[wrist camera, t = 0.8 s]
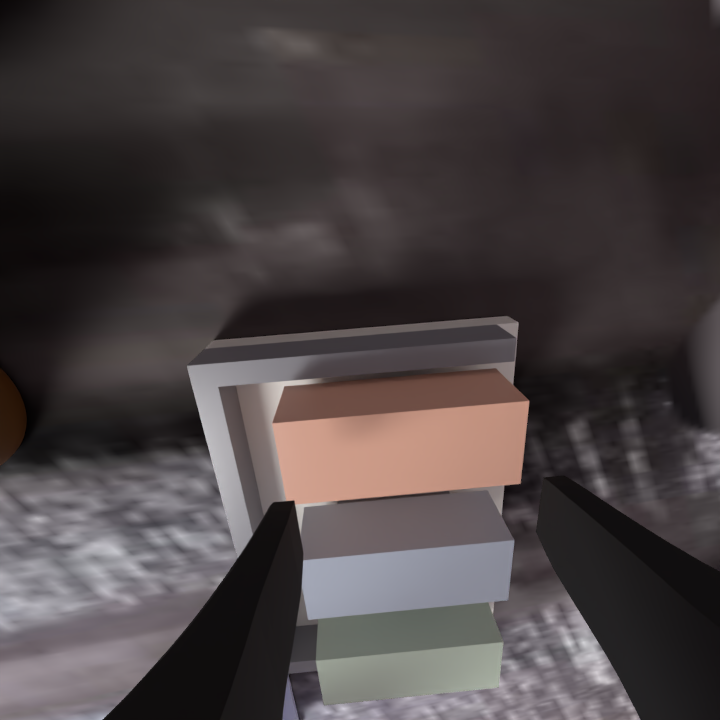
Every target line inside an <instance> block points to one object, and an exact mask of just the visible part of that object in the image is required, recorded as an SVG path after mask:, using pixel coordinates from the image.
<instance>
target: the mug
mask: <svg viewBox="0 0 720 720" xmlns="http://www.w3.org/2000/svg"><path fill="white" fill-rule="evenodd" d="M26 424H27V416H26V409H25V406H24V402H23V400H22V397H21V395H20V393H19V391H18V390H17V388H16V386H15V385H14V383H13V382H12V380H11V379H10V378H9V377H8V375H7V374H6V373H5V372H4V371H3V370H2V369H1V368H0V466H1V465H2V464H3V463H4V462H6V461H7V460H8V459H9V458H10V457H11V456H12V455H13V454H14V453H15V451H16V450H17V449H18V447H19V446H20V444H21V442H22V440H23V438H24V434H25V430H26Z"/></svg>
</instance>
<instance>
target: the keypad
mask: <svg viewBox="0 0 720 720" xmlns="http://www.w3.org/2000/svg"><path fill="white" fill-rule="evenodd" d="M518 325H519V322H517V321H515V320H514V319H512V318H510V317H508V316H500V317H488V318H476V319H464V320H452V321H440V322H428V323H416V324H404V325H392V326H380V327H368V328H356V329H344V330H332V331H320V332H308V333H296V334H284V335H272V336H260V337H248V338H236V339H224V340H213V341H212V342H211V343H210V344H209V345H208V346H207V347H206V348H205V349H204V350H203V351H202V352H201V353H200V354H199V355H198V356H197V357H196V358H195V359H193V360H192V361H191V362H190V363H189V364H188V365H187V369H188V372H189V376H190V380H191V384H192V387H193V391H194V395H195V399H196V403H197V406H198V410H199V414H200V418H201V422H202V425H203V429H204V433H205V437H206V441H207V444H208V448H209V452H210V456H211V459H212V463H213V467H214V471H215V475H216V478H217V482H218V486H219V490H220V494H221V497H222V501H223V505H224V509H225V513H226V516H227V520H228V524H229V528H230V531H231V535H232V539H233V543H234V547H235V550H236V554H237V558H238V557H239V556H240V554H241V553H242V551H243V550H244V548H245V546H246V545H247V543H248V542H249V540H250V539H251V537H252V535H253V534H254V532H255V530H256V529H257V527H258V525H259V524H260V522H261V520H262V519H263V517H264V515H265V513H266V512H267V510H268V508H269V506H270V505H271V504H272V503H273V502H281V501H286V497H285V491H284V486H283V480H282V475H281V469H280V464H279V458H278V453H277V448H276V442H275V437H274V431H273V426H272V422H273V419H274V416H275V413H276V410H277V407H278V404H279V401H280V398H281V395H282V392H283V389H284V386H294V385H306V384H318V383H329V382H341V381H352V380H364V379H376V378H387V377H399V376H411V375H422V374H434V373H445V372H457V371H469V370H480V369H492V368H496V369H497V370H498V371H499V372H500V373H501V374H502V375H503V376H504V377H505V378H506V379H507V380H508V381H509V382H511V383H512V384H513V381H514V370H515V359H516V347H517V336H518ZM484 490H488V492H489V494H490V496H491V498H492V500H493V501H494V503H495V505H496V507H497V509H498V511H499V513H500V514H501V516H502V506H503V495H504V485H502V486H491V487H480V488H470V489H459V490H448V491H437V492H426V493H415V494H405V495H394V496H383V497H372V498H361V499H350V500H339V501H329V502H318V503H307V504H296V505H295V507H296V512H297V518H298V524H299V530H300V535H301V528H302V520H303V512H304V507H311V506H322V505H333V504H343V503H354V502H365V501H376V500H387V499H397V498H408V497H419V496H430V495H441V494H452V493H462V492H473V491H484ZM488 603H489V606H490V608H491V611H492V614H493V608H494V602H488ZM317 629H318V619H312V620H308V616H307V611H306V605H305V600H304V595H303V589H302V590H301V598H300V604H299V610H298V617H297V623H296V629H295V636H294V642H293V648H292V654H291V660H290V666H289V673H288V674H292V673H302V672H312V671H317V665H316V647H317Z"/></svg>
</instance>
